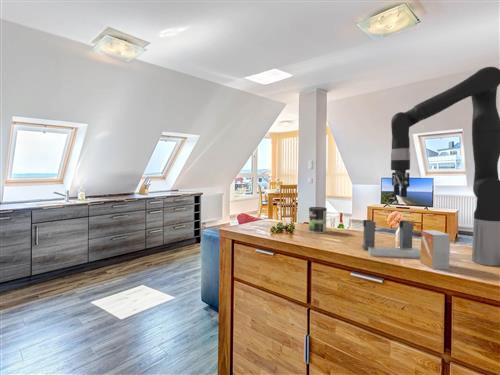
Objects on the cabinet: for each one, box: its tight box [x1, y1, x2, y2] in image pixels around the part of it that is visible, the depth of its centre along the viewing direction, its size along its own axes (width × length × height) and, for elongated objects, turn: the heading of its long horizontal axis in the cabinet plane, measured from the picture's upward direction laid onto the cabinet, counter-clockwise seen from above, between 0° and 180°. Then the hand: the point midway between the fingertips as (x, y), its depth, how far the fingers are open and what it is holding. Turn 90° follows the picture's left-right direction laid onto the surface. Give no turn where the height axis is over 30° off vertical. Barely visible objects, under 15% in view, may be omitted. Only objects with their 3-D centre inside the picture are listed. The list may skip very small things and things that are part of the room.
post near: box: [398, 220, 415, 248], centre depth 134 cm, size 5×6×13 cm
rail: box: [367, 246, 421, 259], centre depth 126 cm, size 20×4×4 cm, turn 81°
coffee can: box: [308, 206, 328, 234], centre depth 175 cm, size 10×10×14 cm
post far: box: [361, 219, 376, 251], centre depth 137 cm, size 5×6×13 cm
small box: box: [419, 229, 451, 270], centre depth 112 cm, size 8×6×13 cm
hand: (400, 196), depth 130 cm, fingers open, 8 cm apart
